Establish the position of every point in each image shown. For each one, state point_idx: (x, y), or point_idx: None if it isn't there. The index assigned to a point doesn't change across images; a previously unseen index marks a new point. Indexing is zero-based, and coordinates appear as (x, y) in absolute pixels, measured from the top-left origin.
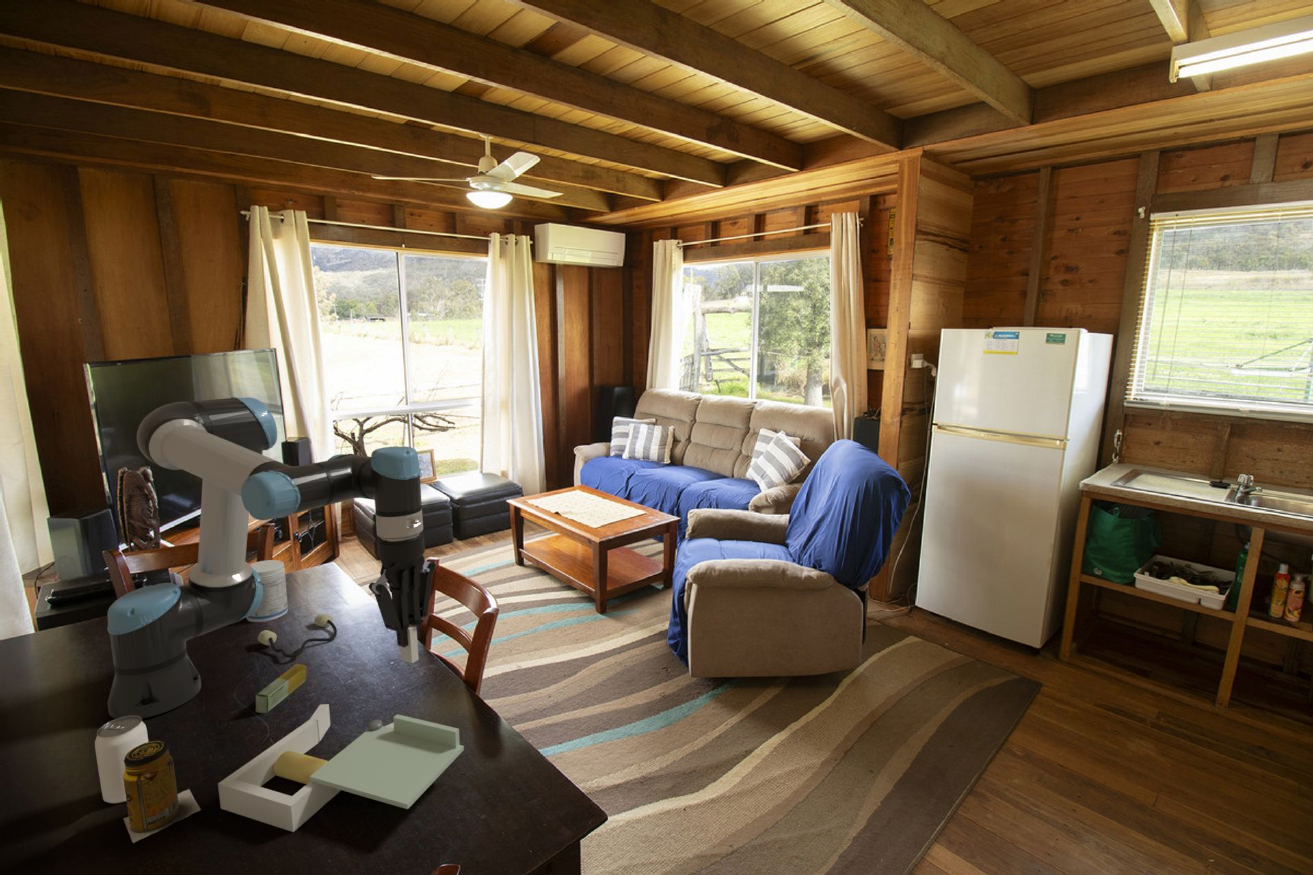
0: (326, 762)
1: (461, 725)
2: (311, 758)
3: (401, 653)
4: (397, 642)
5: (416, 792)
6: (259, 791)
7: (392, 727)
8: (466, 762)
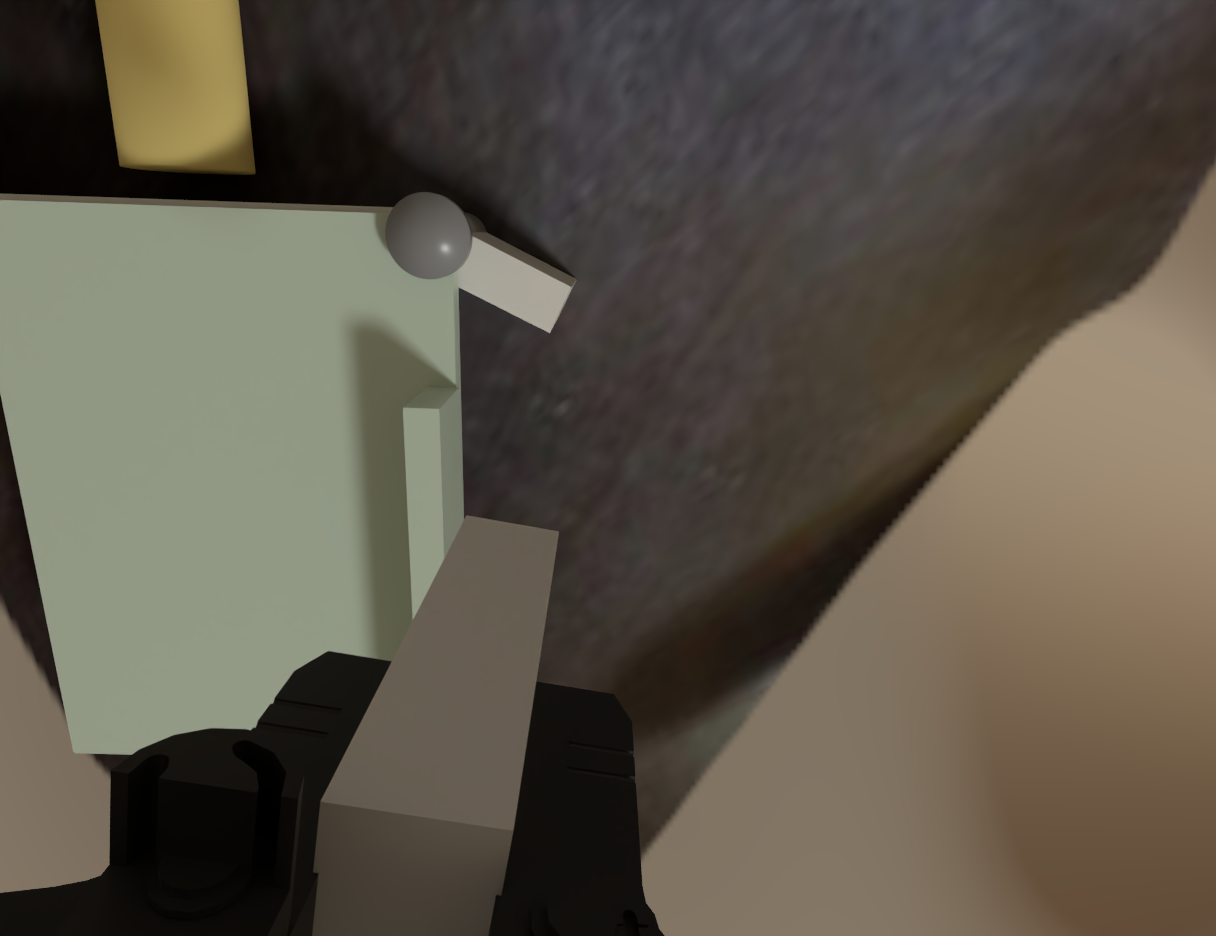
0: (169, 131)
1: (770, 492)
2: (155, 9)
3: (449, 553)
4: (287, 685)
5: (141, 746)
6: None
7: (508, 302)
8: (551, 646)
